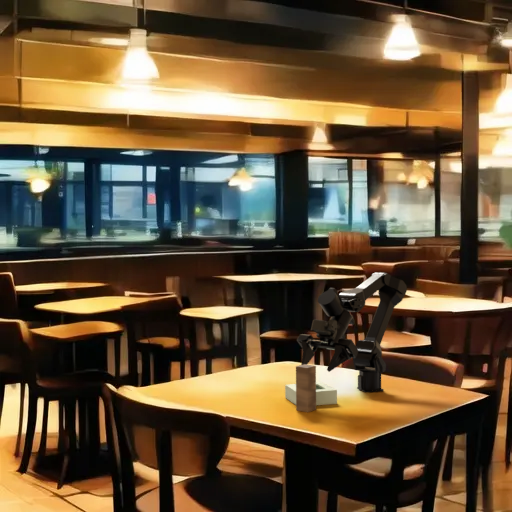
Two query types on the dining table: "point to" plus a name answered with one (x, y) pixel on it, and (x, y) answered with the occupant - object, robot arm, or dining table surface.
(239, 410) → the dining table surface
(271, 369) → the dining table surface
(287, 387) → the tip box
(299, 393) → the walnut block
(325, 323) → the robot arm
